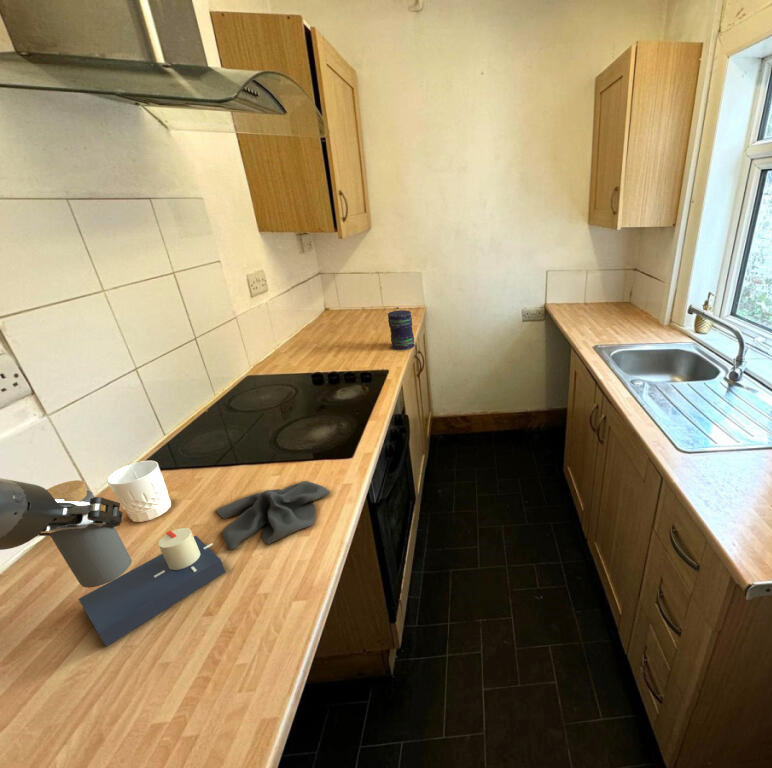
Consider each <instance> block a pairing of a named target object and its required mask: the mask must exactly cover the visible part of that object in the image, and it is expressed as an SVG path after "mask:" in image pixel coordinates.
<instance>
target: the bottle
mask: <svg viewBox="0 0 772 768" xmlns="http://www.w3.org/2000/svg"><path fill="white" fill-rule="evenodd" d="M46 490H47V491H48V492H49V493H50V494H51V495H52V497H53V498H54V499H62V500H65V501H67V502H90V499H91V498H94V497H95V495H94V493H93V492H92V491H91V490H88V489H87V487H86V482H85V481H84V480H79V479H77V480H69V481H65V482H62V483H58V484H56V485H53V486H51V487H49V488H47V489H46ZM75 518H76V515H75V517H74V519H73V521H72V522H71V523H70V524H75ZM92 520H93V519H92ZM92 520H91V521H92ZM49 534H50V536H49V537H50V538H51V539H52V542H53V543H54V544H55V546H56V547H57V549H58V551H59V553H60V554H61V556H62V558H63V559H64V561H65V563H66V565H67V566H68V568H69V569H70V570H71V572H72V574H73V575H74V577H75V578H76V580H77V582H78V583H79V585H80V586H82V587H83V588H89V589H90V588H97V587H101V586H103V585H105V584H107V583H109V582H111V581H113V580H114V579H116V578H118V577H120V576H122V575H124V574H125V573H126V571H127V570H128V569H129V568H130V567H131V565H132V557H131V556H130V554H129V552H128V550H127V548H126V546H125V544H124V542H123V540H122V538H121V537H120V535H119V532H118V531H117V529H116V527H108V526H87V527H86V528H82V529H79V530H60V531H55V532H52V533H49Z"/></svg>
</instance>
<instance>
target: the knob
mask: <svg viewBox="0 0 772 768" xmlns="http://www.w3.org/2000/svg"><path fill="white" fill-rule="evenodd" d="M165 533H166V534H164V535H163V536H162V537H161V538H160V539H159V540H158V543H157V544H158V548H159V549H160V552H161V554H162V553H163V556H164V558H165V560H166V562H167V564H168V566H169V568H170V569H172V570H180V569H183V568H186V567H188V566H190V565H192V564H193V563H194V562H196V561H197V560H198V558H199V557H200V551H199V548H198V546H197V544H196V541H195V539H194V535H193V532H192V530H191V529H190V528H188V527H182V528H181V527H180V528H176V529H173V530H167V531H166V532H165Z"/></svg>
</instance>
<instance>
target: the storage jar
mask: <svg viewBox="0 0 772 768" xmlns="http://www.w3.org/2000/svg"><path fill="white" fill-rule="evenodd" d="M395 309H397V310H393V311H390V312H388V313H387V319H388V327H389V330H390V342H391V348H392V349H393V350H395V351H407V350H411V349H413V348H414V347H415V336H414V335H415V334H414V331H413V318H412V312H411V311H410V310H406V309H405V310H403V309H402V310H401V309H400V307H399V306H397V307H395ZM398 309H400V310H398Z"/></svg>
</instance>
